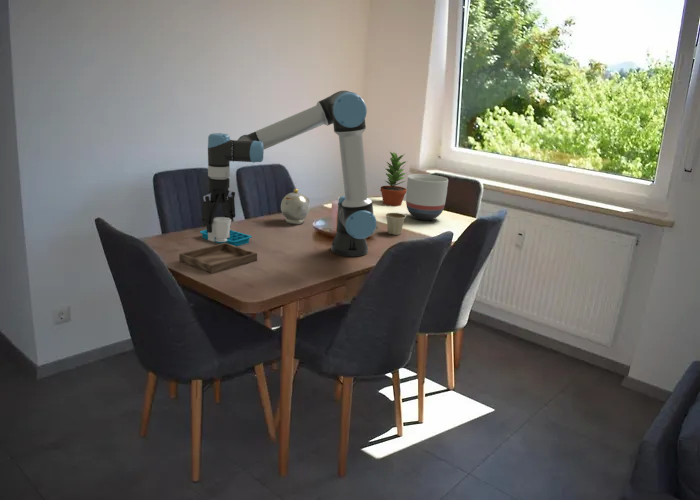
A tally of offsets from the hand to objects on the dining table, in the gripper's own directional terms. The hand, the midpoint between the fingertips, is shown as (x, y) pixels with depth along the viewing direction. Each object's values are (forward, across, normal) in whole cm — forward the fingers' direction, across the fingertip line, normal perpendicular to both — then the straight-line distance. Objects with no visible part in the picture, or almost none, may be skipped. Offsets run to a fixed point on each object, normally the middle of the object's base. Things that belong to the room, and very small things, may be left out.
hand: (218, 238), depth 221 cm
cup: (0, 0, 0) cm, 0 cm away
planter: (+9, -121, +17) cm, 122 cm away
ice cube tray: (+9, -20, -19) cm, 29 cm away
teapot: (+9, -65, -20) cm, 69 cm away
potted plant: (+9, -137, -13) cm, 138 cm away
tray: (+9, 0, 0) cm, 9 cm away
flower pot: (+9, -86, +22) cm, 89 cm away
